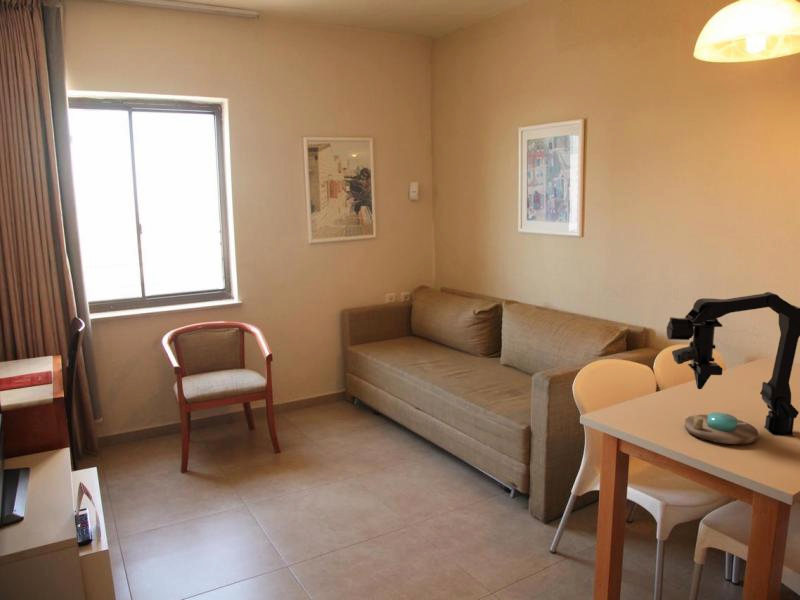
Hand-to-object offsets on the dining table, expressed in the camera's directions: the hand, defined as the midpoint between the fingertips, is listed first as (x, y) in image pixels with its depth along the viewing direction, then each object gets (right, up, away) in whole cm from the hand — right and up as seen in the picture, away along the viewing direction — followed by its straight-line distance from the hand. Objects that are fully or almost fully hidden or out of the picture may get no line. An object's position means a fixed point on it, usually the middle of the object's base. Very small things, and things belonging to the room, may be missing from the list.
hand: (699, 388), depth 196 cm
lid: (+5, -11, -4) cm, 13 cm away
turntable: (+5, -13, -3) cm, 15 cm away
